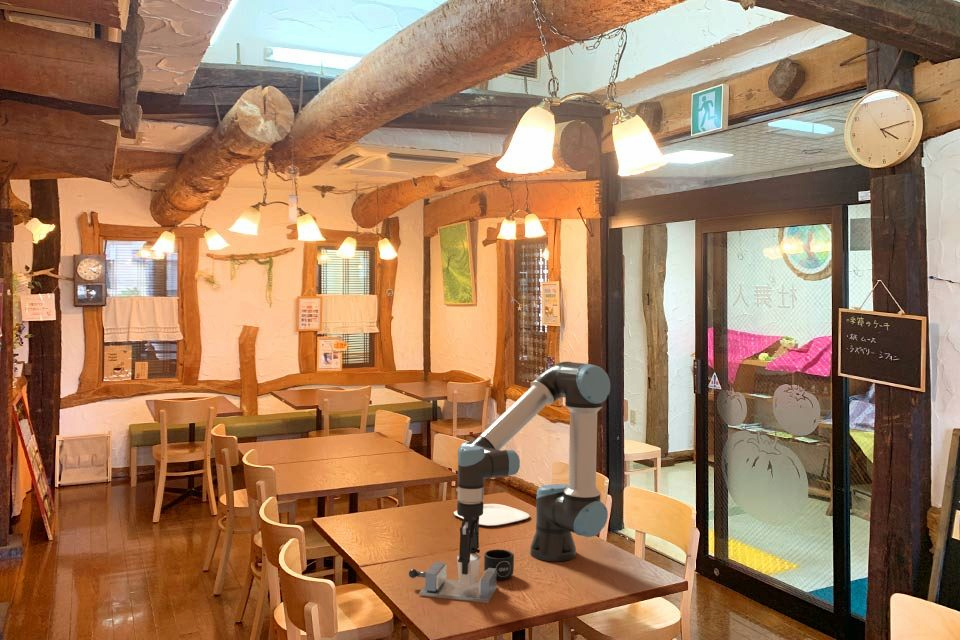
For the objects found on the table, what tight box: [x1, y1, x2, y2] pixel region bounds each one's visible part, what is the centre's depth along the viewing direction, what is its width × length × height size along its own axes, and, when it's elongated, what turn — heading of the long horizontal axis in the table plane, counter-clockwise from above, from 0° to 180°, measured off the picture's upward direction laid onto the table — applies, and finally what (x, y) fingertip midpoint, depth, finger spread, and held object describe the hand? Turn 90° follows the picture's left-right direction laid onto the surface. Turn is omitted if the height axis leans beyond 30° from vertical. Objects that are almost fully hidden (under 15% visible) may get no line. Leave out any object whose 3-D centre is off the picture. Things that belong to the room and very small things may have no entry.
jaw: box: [408, 561, 448, 591], centre depth 228 cm, size 10×10×5 cm
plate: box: [452, 503, 531, 527], centre depth 303 cm, size 25×25×2 cm
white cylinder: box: [456, 553, 482, 584], centre depth 225 cm, size 7×7×7 cm
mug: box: [483, 549, 515, 581], centre depth 240 cm, size 12×9×7 cm
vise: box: [419, 568, 498, 604], centre depth 226 cm, size 20×12×6 cm, turn 77°
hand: (468, 579), depth 225 cm, fingers closed on white cylinder, 7 cm apart
